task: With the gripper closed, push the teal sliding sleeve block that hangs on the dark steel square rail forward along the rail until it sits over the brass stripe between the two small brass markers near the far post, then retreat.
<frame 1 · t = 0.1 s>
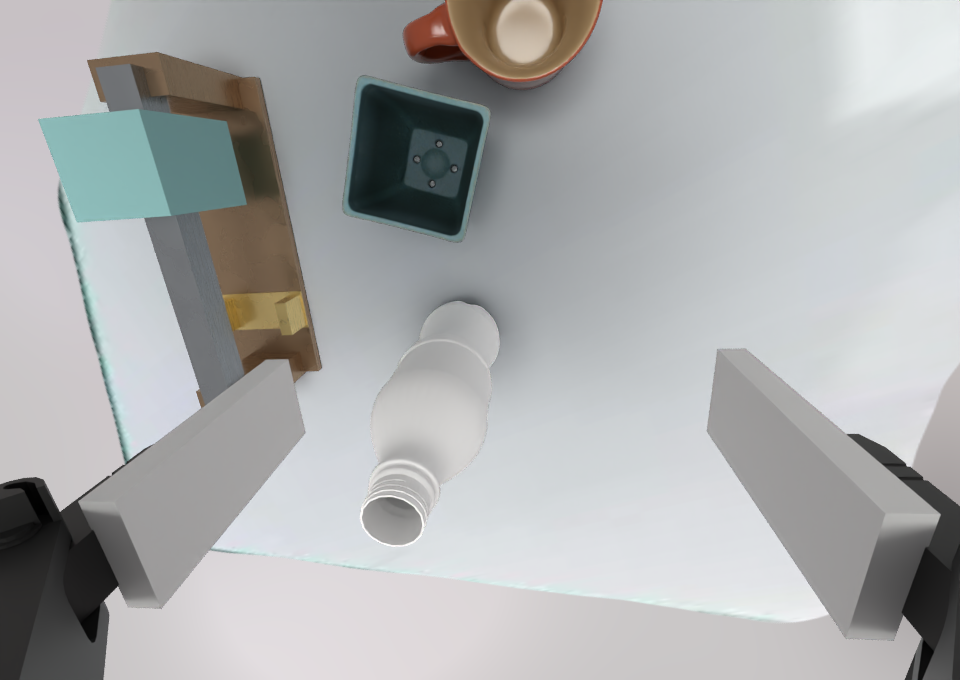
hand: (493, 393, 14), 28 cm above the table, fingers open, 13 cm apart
teal sliding sleeve block: (166, 167, 32), point 8 cm above the table, touching rail
rail: (253, 241, 42), on the table
flower pot: (437, 163, 38), on the table
water bottle: (464, 329, 44), on the table
mug: (503, 46, 35), on the table
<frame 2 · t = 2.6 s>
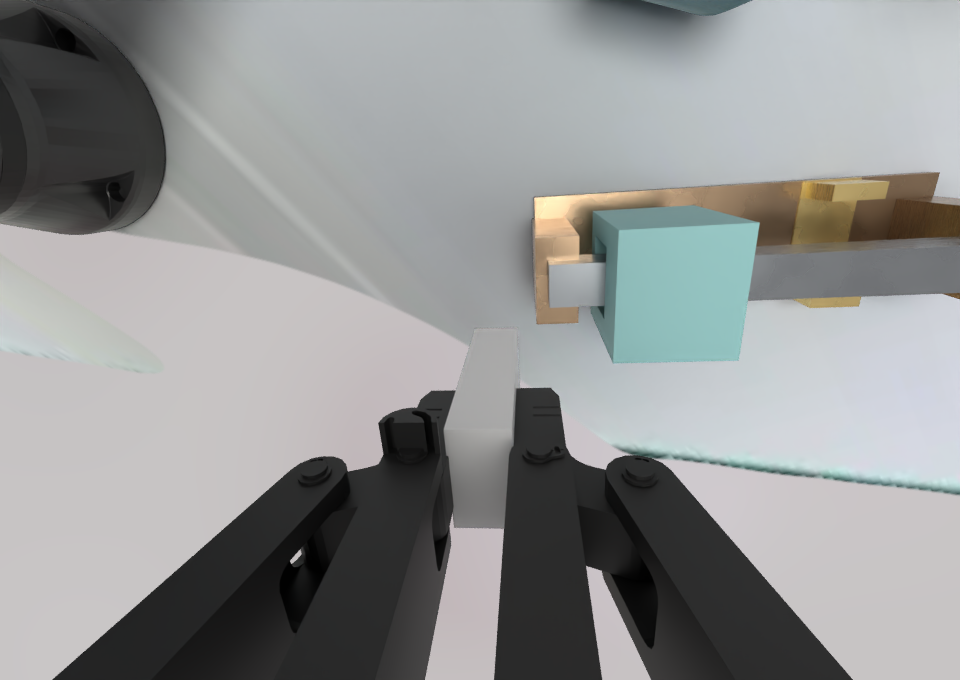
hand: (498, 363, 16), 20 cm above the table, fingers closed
teal sliding sleeve block: (653, 273, 26), point 8 cm above the table, touching rail
rail: (716, 243, 33), on the table
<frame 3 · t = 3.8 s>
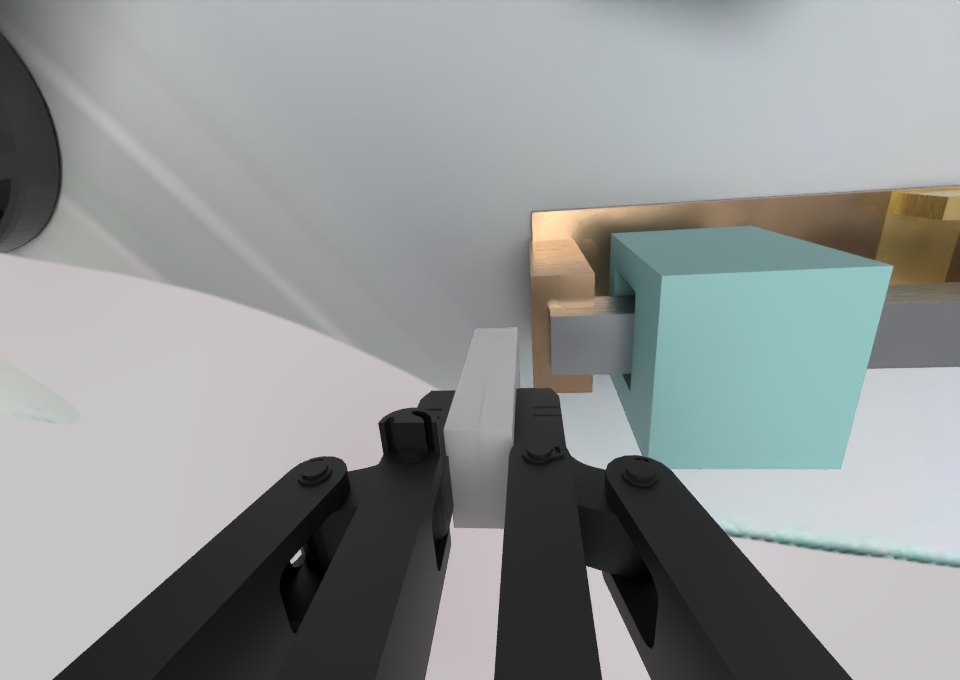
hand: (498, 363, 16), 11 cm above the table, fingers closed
teal sliding sleeve block: (698, 323, 18), point 8 cm above the table, touching rail
rail: (769, 271, 25), on the table
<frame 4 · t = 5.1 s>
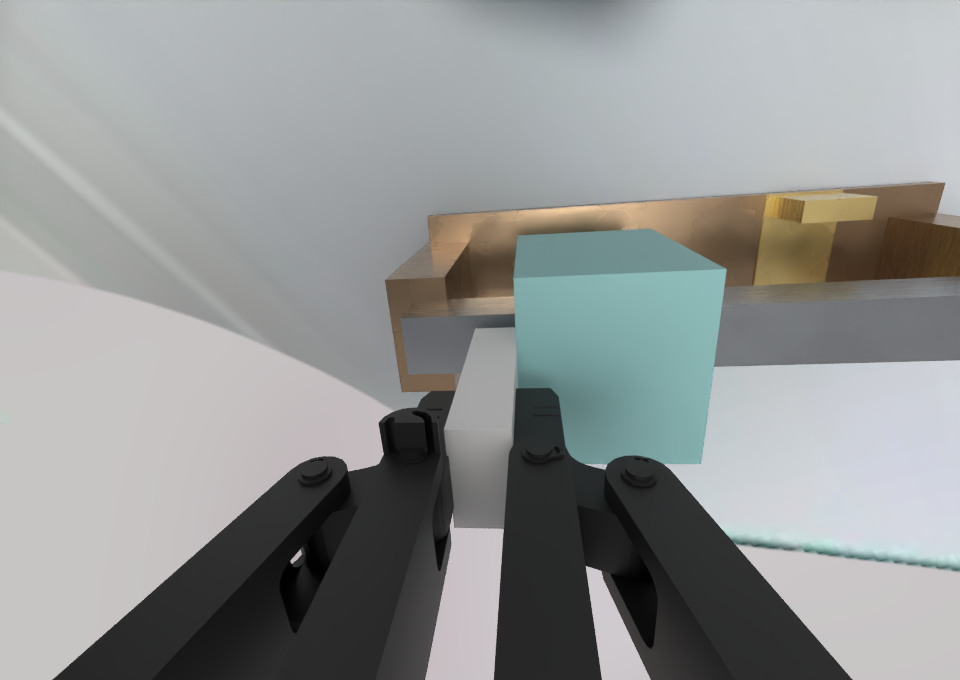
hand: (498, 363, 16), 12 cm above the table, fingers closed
teal sliding sleeve block: (591, 323, 19), point 8 cm above the table, touching gripper
rail: (661, 272, 26), on the table
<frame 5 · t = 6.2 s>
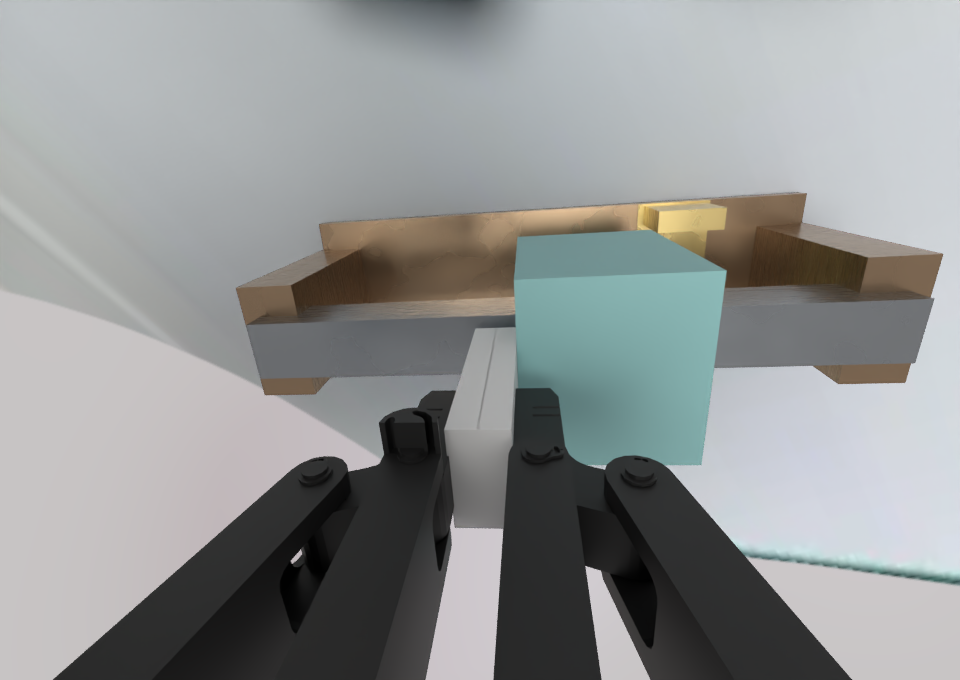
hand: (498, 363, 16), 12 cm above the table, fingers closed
teal sliding sleeve block: (591, 325, 19), point 8 cm above the table, touching rail
rail: (548, 278, 27), on the table
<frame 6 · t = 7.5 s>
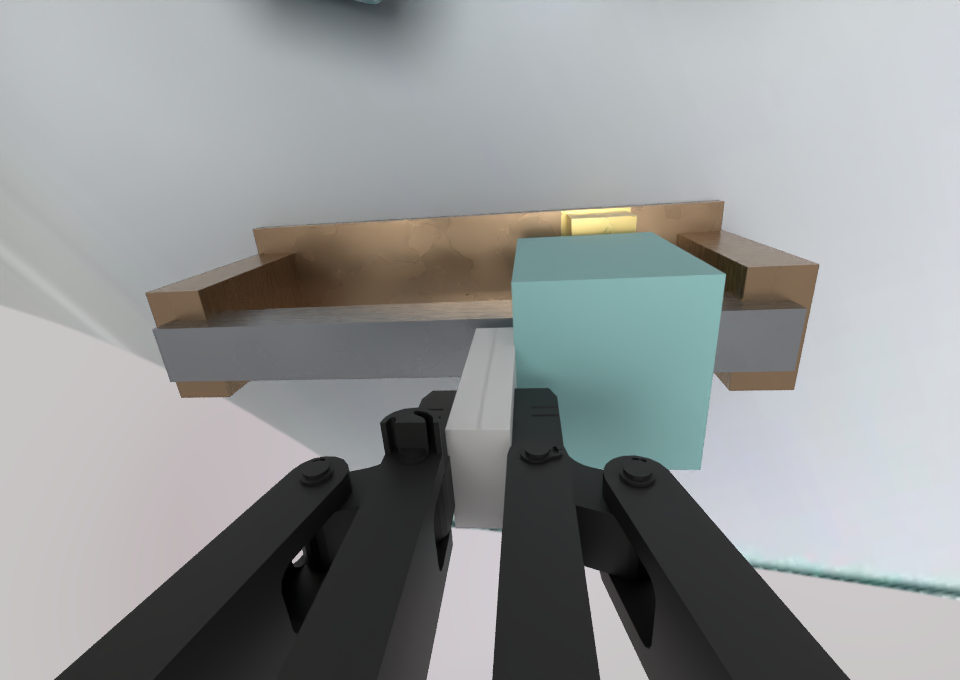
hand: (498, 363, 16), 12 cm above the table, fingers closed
teal sliding sleeve block: (591, 327, 19), point 8 cm above the table, touching gripper, rail
rail: (480, 283, 27), on the table
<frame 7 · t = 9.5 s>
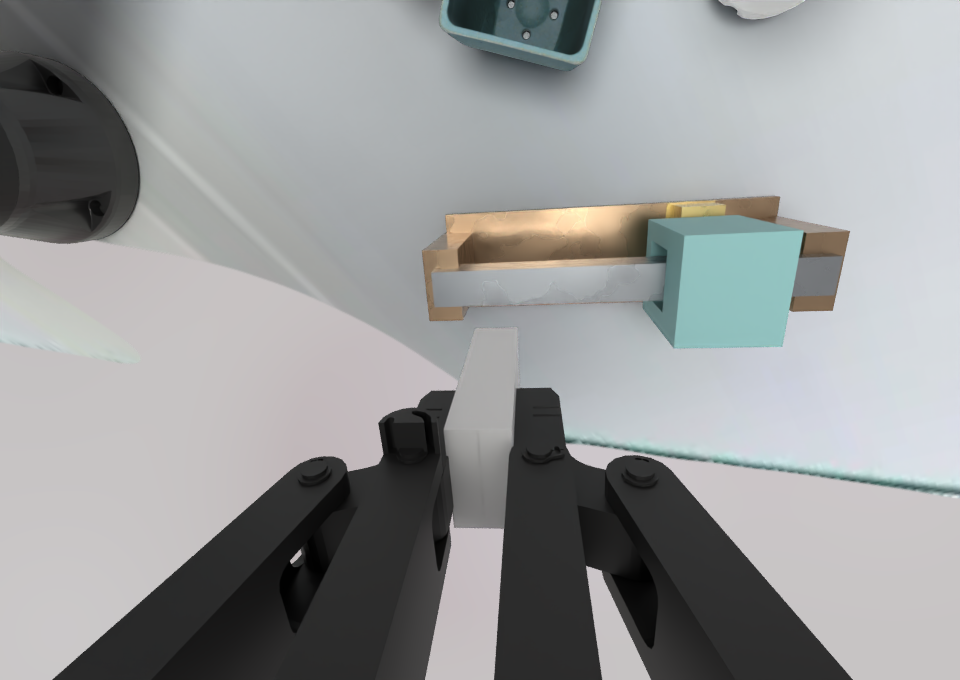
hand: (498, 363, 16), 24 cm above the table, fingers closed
teal sliding sleeve block: (703, 273, 30), point 8 cm above the table, touching rail
rail: (602, 254, 38), on the table
flower pot: (531, 9, 33), on the table
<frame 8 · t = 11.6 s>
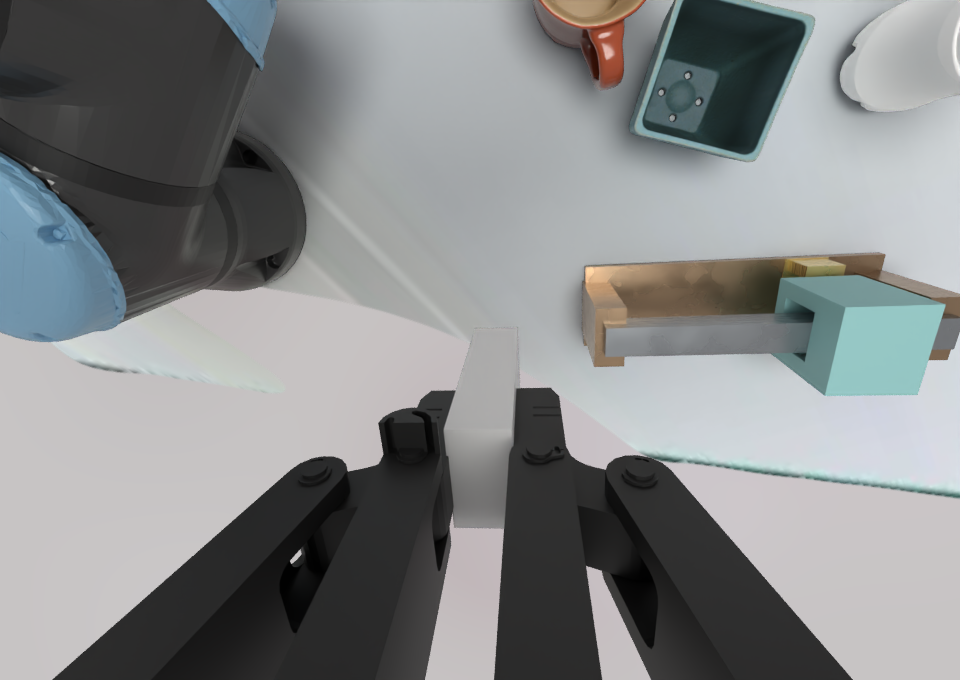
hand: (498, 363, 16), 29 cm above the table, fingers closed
teal sliding sleeve block: (836, 327, 36), point 8 cm above the table, touching rail
rail: (721, 300, 44), on the table
flower pot: (678, 96, 38), on the table
water bottle: (875, 65, 36), on the table
mug: (582, 22, 37), on the table
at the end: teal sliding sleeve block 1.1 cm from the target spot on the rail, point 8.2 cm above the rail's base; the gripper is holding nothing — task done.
